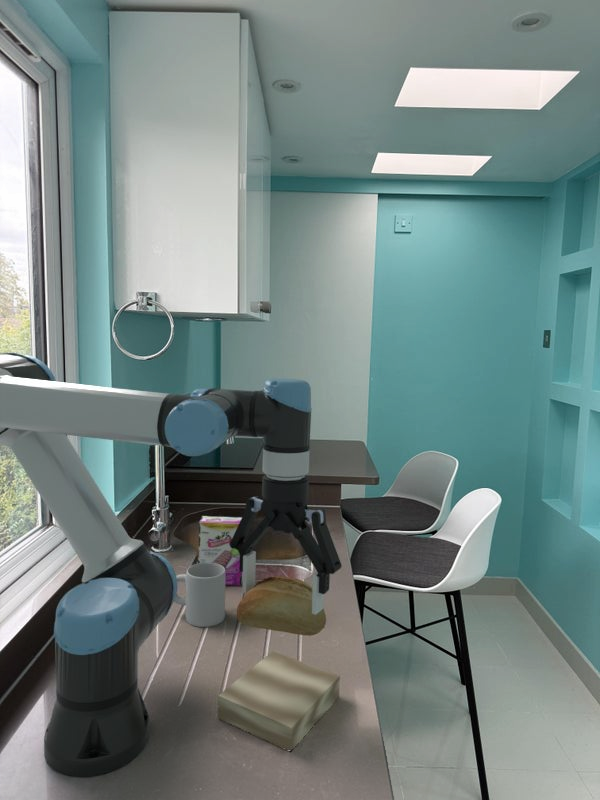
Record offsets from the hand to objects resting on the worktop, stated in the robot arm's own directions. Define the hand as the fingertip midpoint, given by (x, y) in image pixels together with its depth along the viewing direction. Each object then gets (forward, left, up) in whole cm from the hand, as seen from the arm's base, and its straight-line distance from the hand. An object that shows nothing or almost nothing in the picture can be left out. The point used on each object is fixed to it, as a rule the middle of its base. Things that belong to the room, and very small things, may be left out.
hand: (282, 600), depth 96 cm
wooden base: (0, 0, -19) cm, 19 cm away
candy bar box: (+33, +39, -19) cm, 54 cm away
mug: (+16, +32, -19) cm, 40 cm away
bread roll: (0, 0, -5) cm, 5 cm away
